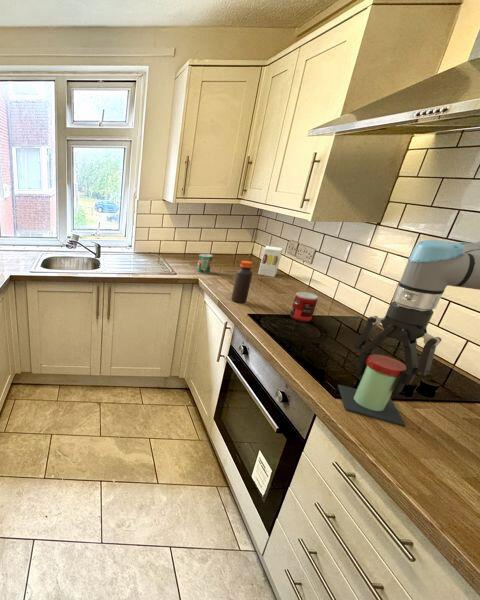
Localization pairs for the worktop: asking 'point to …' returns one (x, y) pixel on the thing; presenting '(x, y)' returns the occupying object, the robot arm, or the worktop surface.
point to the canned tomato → (204, 263)
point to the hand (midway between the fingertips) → (377, 382)
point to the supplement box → (270, 261)
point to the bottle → (242, 282)
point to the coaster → (386, 415)
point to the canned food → (303, 306)
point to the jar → (375, 389)
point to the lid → (385, 365)
